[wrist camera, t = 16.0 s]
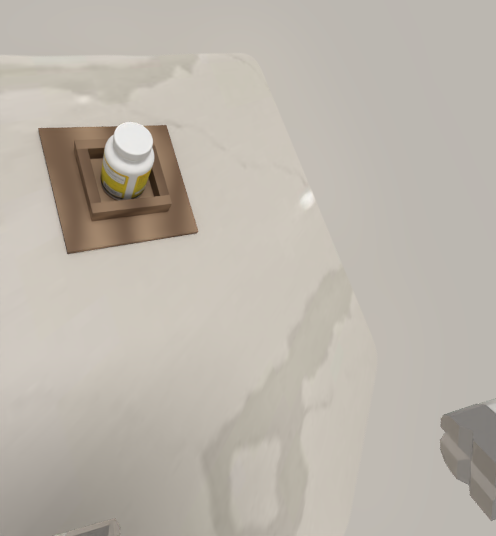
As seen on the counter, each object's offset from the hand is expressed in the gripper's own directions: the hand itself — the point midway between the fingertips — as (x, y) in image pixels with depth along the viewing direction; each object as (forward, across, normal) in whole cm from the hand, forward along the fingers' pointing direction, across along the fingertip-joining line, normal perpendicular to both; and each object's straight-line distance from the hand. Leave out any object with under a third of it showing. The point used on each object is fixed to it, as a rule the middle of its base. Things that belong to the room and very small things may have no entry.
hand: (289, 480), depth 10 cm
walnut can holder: (+46, -8, +1) cm, 47 cm away
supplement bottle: (+46, -8, +1) cm, 47 cm away
